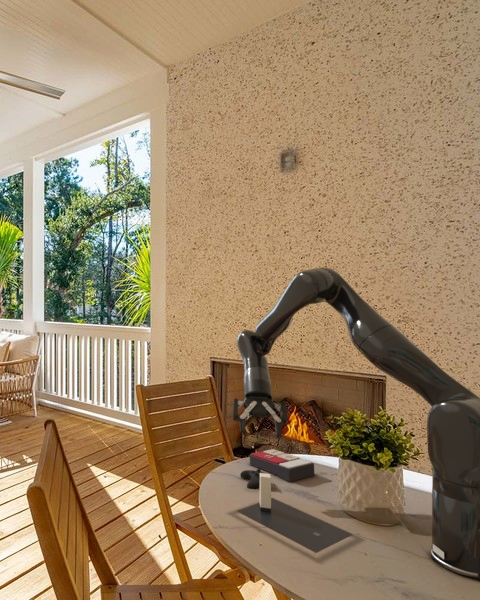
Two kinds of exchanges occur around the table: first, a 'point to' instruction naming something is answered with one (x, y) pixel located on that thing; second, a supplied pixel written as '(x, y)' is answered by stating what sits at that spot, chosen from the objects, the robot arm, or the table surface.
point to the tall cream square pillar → (265, 492)
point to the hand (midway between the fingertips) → (260, 435)
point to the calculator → (282, 464)
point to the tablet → (296, 525)
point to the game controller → (252, 478)
